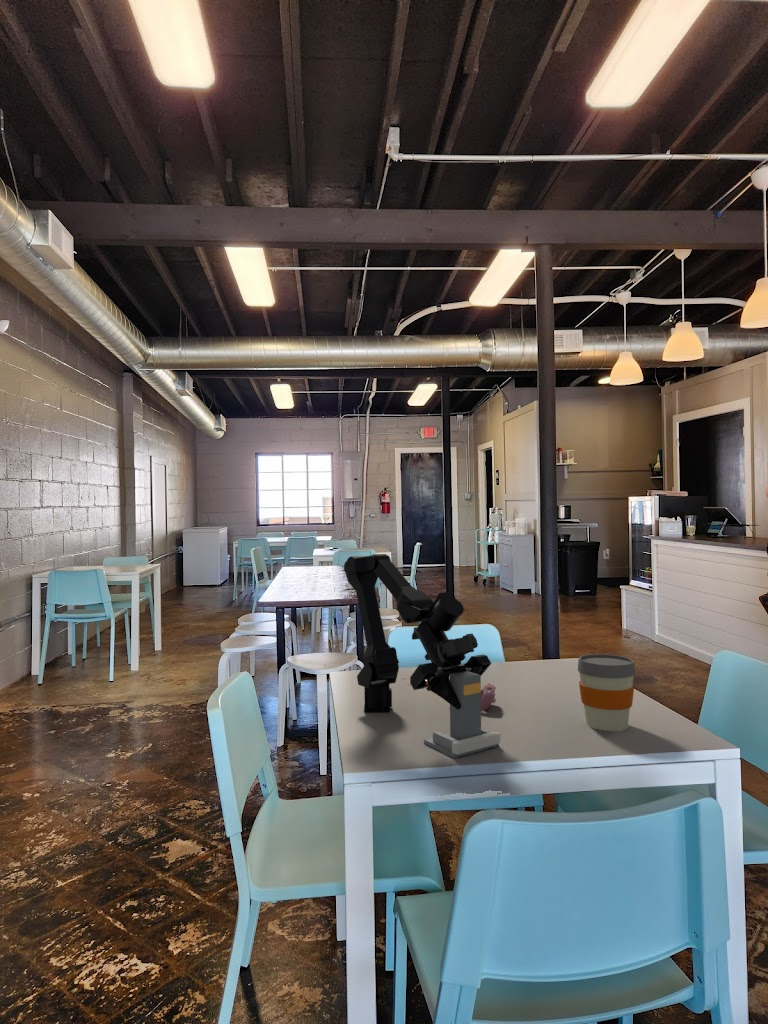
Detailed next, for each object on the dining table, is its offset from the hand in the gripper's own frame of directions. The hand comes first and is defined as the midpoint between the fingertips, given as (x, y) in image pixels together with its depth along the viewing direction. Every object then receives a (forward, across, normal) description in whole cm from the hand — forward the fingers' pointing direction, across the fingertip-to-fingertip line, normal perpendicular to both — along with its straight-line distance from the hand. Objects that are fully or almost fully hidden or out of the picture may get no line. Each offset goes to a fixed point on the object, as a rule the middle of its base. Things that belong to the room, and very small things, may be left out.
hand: (469, 706), depth 129 cm
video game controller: (-8, +22, +20) cm, 31 cm away
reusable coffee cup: (+11, +36, +2) cm, 38 cm away
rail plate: (+4, 0, +8) cm, 9 cm away
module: (+4, 0, +6) cm, 7 cm away
